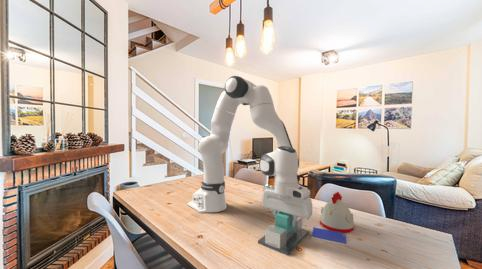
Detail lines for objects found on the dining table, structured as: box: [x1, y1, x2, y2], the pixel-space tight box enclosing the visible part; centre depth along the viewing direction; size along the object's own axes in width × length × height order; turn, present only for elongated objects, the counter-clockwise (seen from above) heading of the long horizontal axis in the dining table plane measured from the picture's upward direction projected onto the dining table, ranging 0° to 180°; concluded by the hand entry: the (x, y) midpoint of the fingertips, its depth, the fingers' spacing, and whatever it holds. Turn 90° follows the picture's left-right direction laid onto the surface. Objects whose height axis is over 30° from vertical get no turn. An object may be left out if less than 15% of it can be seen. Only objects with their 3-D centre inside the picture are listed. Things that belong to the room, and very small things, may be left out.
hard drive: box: [311, 226, 348, 246], centre depth 83 cm, size 2×8×12 cm
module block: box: [274, 211, 295, 234], centre depth 81 cm, size 5×7×6 cm
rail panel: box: [257, 217, 310, 256], centre depth 81 cm, size 12×20×6 cm, turn 142°
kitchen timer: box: [319, 191, 355, 234], centre depth 93 cm, size 14×14×15 cm
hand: (285, 223), depth 81 cm, fingers closed on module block, 5 cm apart
